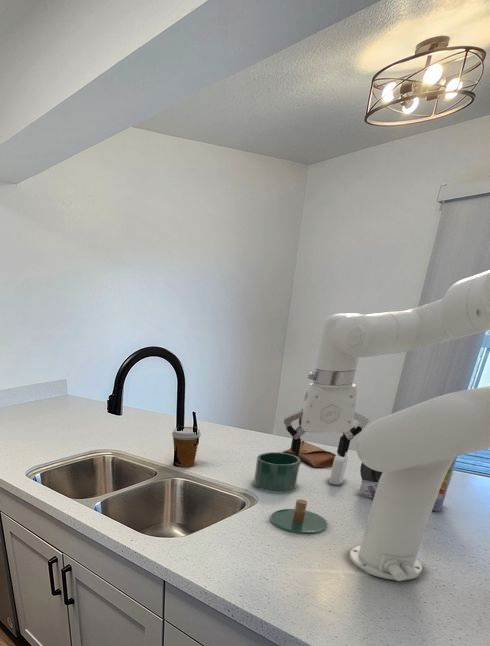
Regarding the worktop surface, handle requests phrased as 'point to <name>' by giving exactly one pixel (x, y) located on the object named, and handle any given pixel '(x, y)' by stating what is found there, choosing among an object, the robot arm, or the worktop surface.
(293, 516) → the lid
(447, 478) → the cake pan box
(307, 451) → the sunglasses case
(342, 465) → the eye dropper bottle
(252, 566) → the worktop surface
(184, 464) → the disposable coffee cup
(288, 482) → the canister
